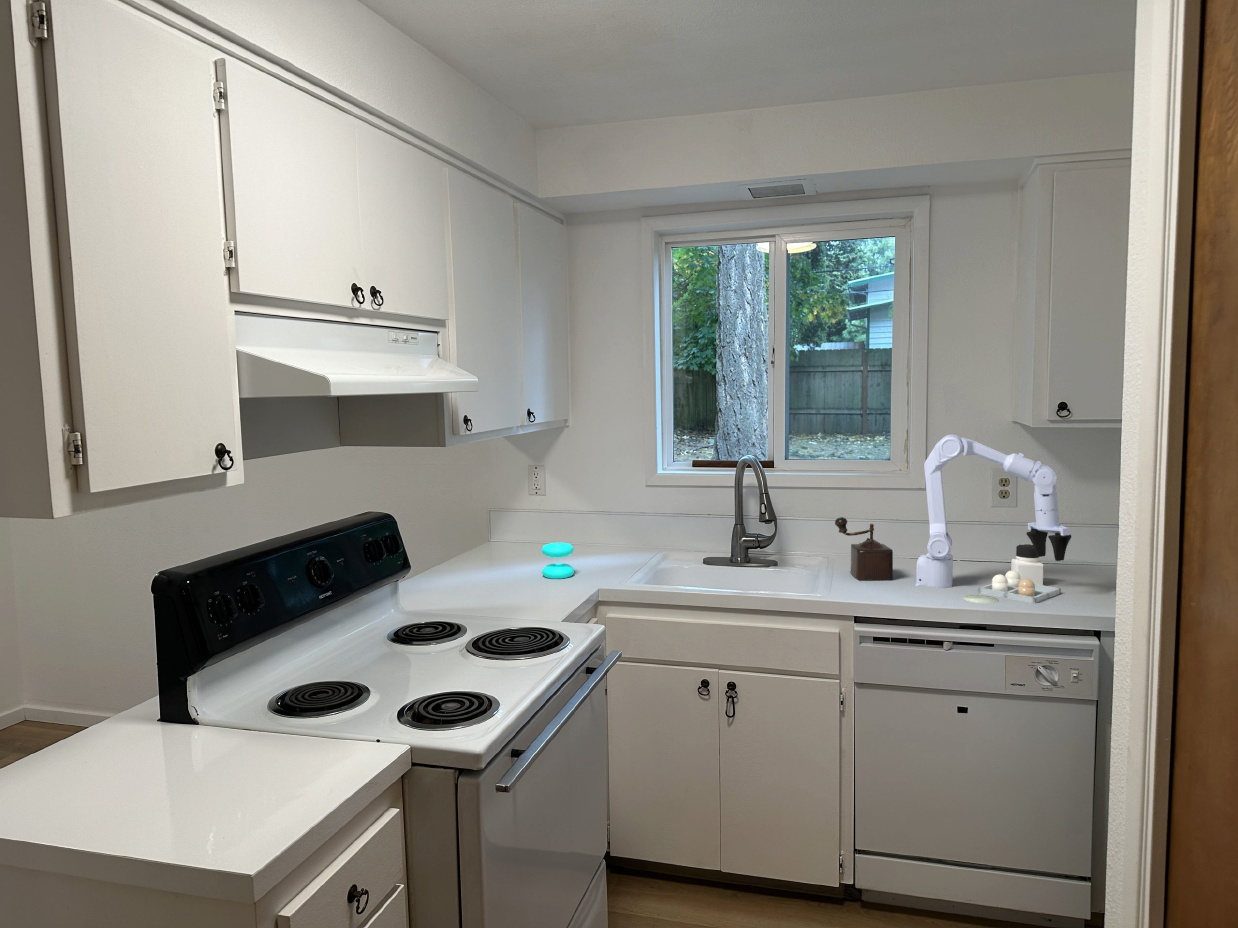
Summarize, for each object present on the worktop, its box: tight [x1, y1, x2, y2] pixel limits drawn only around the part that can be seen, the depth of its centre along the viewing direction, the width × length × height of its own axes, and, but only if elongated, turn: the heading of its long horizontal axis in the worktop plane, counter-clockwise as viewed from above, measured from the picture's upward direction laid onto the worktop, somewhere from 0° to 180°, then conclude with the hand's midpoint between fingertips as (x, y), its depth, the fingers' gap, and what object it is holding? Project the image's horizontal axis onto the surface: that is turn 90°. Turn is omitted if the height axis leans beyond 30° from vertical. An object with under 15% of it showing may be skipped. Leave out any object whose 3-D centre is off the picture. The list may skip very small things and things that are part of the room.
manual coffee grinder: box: [834, 516, 894, 582], centre depth 264 cm, size 16×11×18 cm
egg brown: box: [1018, 579, 1035, 597], centre depth 234 cm, size 4×4×5 cm
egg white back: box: [1004, 570, 1021, 588], centre depth 244 cm, size 4×4×5 cm
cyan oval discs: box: [541, 542, 575, 580], centre depth 273 cm, size 10×10×10 cm
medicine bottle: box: [1010, 543, 1045, 585], centre depth 250 cm, size 7×7×12 cm
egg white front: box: [991, 573, 1008, 592], centre depth 240 cm, size 4×4×5 cm
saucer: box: [962, 594, 1000, 604], centre depth 234 cm, size 9×9×1 cm
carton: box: [977, 583, 1062, 604], centre depth 239 cm, size 16×16×2 cm
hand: (1050, 558), depth 238 cm, fingers open, 7 cm apart
